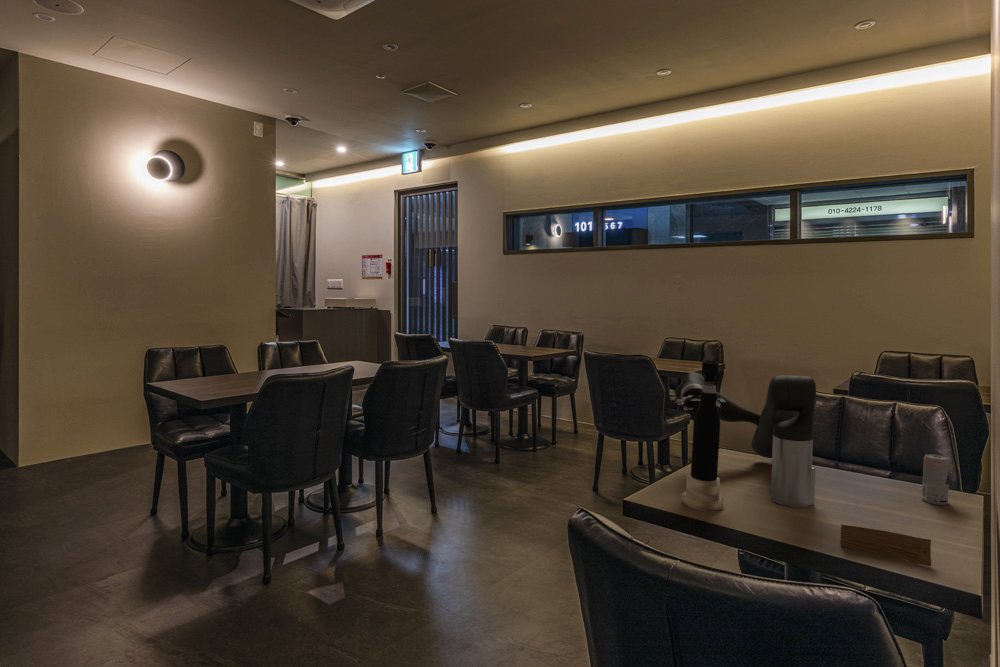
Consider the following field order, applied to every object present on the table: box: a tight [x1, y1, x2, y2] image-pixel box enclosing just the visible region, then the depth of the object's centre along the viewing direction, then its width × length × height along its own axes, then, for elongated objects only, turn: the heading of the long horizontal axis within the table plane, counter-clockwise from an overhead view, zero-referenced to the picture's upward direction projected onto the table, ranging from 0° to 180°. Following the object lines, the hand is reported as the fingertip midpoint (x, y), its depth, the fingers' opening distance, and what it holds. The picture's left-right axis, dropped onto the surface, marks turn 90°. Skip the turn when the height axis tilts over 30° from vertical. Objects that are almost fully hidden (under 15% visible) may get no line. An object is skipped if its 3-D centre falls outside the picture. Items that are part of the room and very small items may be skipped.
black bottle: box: [690, 361, 721, 481], centre depth 141 cm, size 6×6×30 cm
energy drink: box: [921, 453, 951, 506], centre depth 145 cm, size 5×5×12 cm
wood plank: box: [839, 524, 932, 568], centre depth 114 cm, size 15×2×5 cm, turn 58°
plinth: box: [681, 473, 724, 512], centre depth 143 cm, size 10×10×7 cm
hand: (699, 408), depth 145 cm, fingers open, 8 cm apart
